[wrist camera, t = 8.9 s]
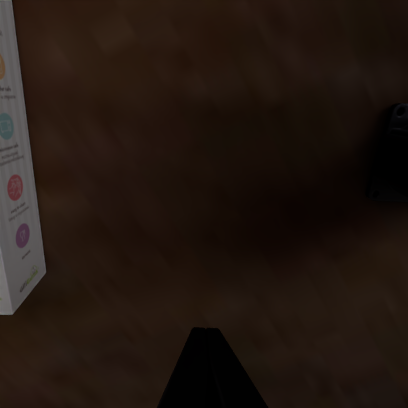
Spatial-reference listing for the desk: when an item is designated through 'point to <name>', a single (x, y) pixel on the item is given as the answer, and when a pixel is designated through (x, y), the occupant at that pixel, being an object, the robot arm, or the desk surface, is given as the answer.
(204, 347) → the robot arm
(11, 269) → the box
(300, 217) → the desk surface
